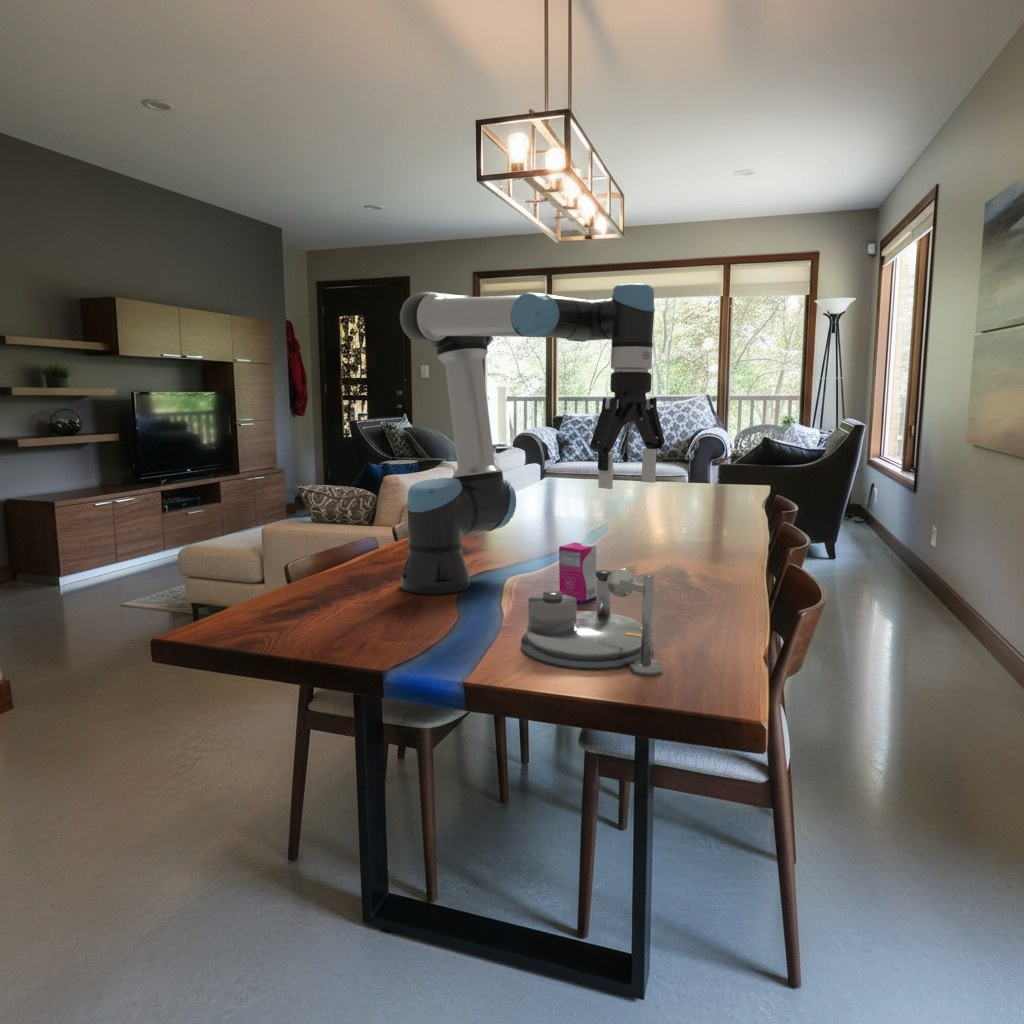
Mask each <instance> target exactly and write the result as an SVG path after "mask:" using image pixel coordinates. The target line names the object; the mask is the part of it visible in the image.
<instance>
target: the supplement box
mask: <svg viewBox="0 0 1024 1024" xmlns="http://www.w3.org/2000/svg"><path fill="white" fill-rule="evenodd" d="M558 565H559V568H558V569H559V573H558V575H559V576H558V577H559V579H558V581H559V582H558V583H559V584H558V585H559V591H560V592H562V595H568V596H571V597H574V598H575V599H576V600H577V605H584V604H586V603H589V602H592V601H594V600H597V577H596V571H597V544H590V543H581V542H570V543H567V544H565V545H564V544H563V545H560V546H559V547H558Z"/></svg>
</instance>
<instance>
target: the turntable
mask: <svg viewBox="0 0 1024 1024" xmlns="http://www.w3.org/2000/svg"><path fill="white" fill-rule="evenodd" d="M611 572H612V570H607V569H601V570H596V584H597V599H596V611H594V610H593V611H591V610H577V617H576V631H575V632H574V633H573V634H570V635H566V636H558V637H549V636H541V635H537V634H534V633H532V632H530V631H529V629H528V625H529V623H527V626H526V627H527V629H526V630H527V631H526V633H527V641H528V643H529V644H530V645H531V646H532V647H533V648H534V649H536V650H538V651H540V652H543V653H546V654H549V655H552V656H556V657H561V658H567V659H575V660H611V659H618V658H623V657H628V656H631V655H634V654H636V653H638V652H640V651H641V635H642V622H640V621H639V620H636V619H634V618H630V617H628V616H624V615H620V614H616V613H613V612H612V613H611V605H612V604H611V599H612V596H611V595H612V593H611V592H610V590H609V588H608V586H607V578H608V576H609V574H610V573H611Z"/></svg>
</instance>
